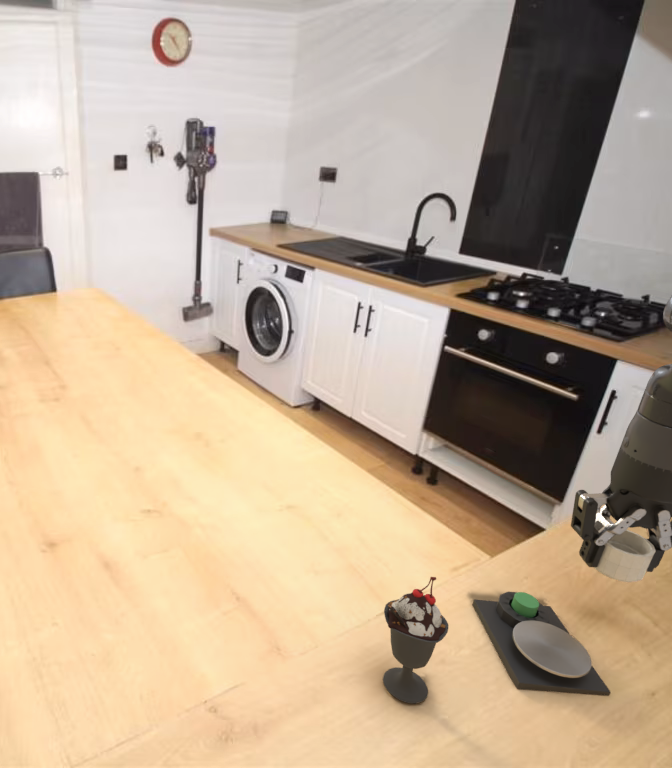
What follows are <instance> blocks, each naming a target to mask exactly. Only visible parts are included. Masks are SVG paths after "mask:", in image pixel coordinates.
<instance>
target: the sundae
mask: <svg viewBox="0 0 672 768" xmlns="http://www.w3.org/2000/svg"><path fill="white" fill-rule="evenodd" d="M436 580H437V577H436V576H430V578H429V581H428V584H427V585H426V586H424V587H423V588H422V589H420V588H414V589H413V590H412V592H409V593H405V594H403V595H402V596H401V597H399V599H393V600H390V601H388V602H387V603H386V604H385V606H384V610H383V614H384V619H385V622H386V624H387V627H388V628H389V629H390V645H391V646H390V647H391V653H392V655H393V657H394V658H395V660H396V661H397V662H398V663H399V664H401V665H402V667H391V668H388V669H387V670H386V671H385V672H384V673H383V676H382V682H383V685H384V688H385V689H386V691H388V693H389V694H390V695H391V696H392V697H394V699H395V698H396V699H397V700H399V701H401V702H404V703H406V704H419V703H422V702H424V701H425V700H426V699H427V698H428V695H429V689H428V685H427V684H426V682H425V680H424V679H423V678H422V677H421V676H420V675H419V674H417V673H415V672H414V670H418V669H422V668H425V667H426V666H427V665H428V663H429V662H430V659H431V658H432V656H433V653H434V650H435V648H436V645H437V643H440V642H441V641H443V639H444V638H446V635H447V634H448V632H449V622H448V621H447V619H446V618H445V617H444V616H443V614H442V613H441V611H440V608H439V607H438V605H436V602H437V599H436V597H435V596H434V595H433V587H434V586H433V585H434V581H436ZM430 584H431V585H430ZM429 586H430V591H429V593H425V594H424V592H423V591H424V590H426V589H427V588H428V587H429Z"/></svg>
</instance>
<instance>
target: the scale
mask: <svg viewBox="0 0 672 768" xmlns="http://www.w3.org/2000/svg"><path fill="white" fill-rule="evenodd" d="M517 592H518V591H506V592H504V593H501V594H500V595H499V597H498V600H486V599H473V601H472V607H473V609H474V611H475V613H476V615H477V617H478V619H479V621H480V622H481V624H482V626H483V628H484V630H485V633H486V634H487V636H488V638H489V640H490V642H491V644H492V646H493V648H494V650H495V652H496V654H497V656H498V657H499V660H500V662H501V663H502V665H503V668H504V669H505V671H506V673H507V674H508V676H509V678H510V680H511V681H512V684H513V685H514V687H515V689H516V690H523V691H524V690H525V691H538V692H551V693H563V694H564V693H565V694H578V695H579V694H580V695H591V696H607V697H609V696H610V695H611V690H610V689H609V688H608V686H607V684H606V683H605V681H603V679H602V678H601V676H600V675H599V673H598V672H597V670H596V668H594V665H591V669H590V671H589V672H588V674H586V675H585V676H582V677H578V678H568V677H562V676H558V675H555V674H552V673H550V672H548V671H546V670H544V669H542V668H540V667H538V666H537V665H535V664H534V663H532V662H531V661H530V660H528V659H527V658H526V657H525V656H524V655H523V654H522V653H521V652H520V651H519V649H518V648H517V646H516V645H515V643H514V640H513V636H512V634H513V629H514V627H515V626H516V625H517V624H518V623H520V622H522V621H529V620H532V621H540V622H544V623H548V624H551V625H553V626H556V627H558V628H560V629H562V630H564V631H565V632H567V633H568V634H570V632H569V630H568V629H567V628H566V626H565V624H563V622H562V621H561V619H560V618H559V617H558V615H557V614H556V612H555V611H554V609H553V608H552V606H550V605H544V604H542V603H541V602H539V607H538V610H537V612H536V615H535V616H534V617H532V618H527V617H524V616H522V615H519V614H518V613H516V612H515V611H514V610H513V609H512V607H511V604H512V601H513V598H514V595H515V594H516V593H517Z"/></svg>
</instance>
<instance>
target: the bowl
mask: <svg viewBox="0 0 672 768" xmlns="http://www.w3.org/2000/svg"><path fill="white" fill-rule="evenodd" d="M603 529H604V526H603V527H602V528H601V529H600V530H599V531H598V532H599V533H600V532H601V531H602V530H603ZM647 539H648V538H646V537H644V536H642V535H641V534H640V533H637V532H634V531H633V530H629V529H628V528H627V529H626V530H625V531H624V532H623V533H622V534H621V535H614V536H613V537H612V538H611V539H610V540H609V541H608V542H607V543H605V544H604V545H605V549H604V551H603V554H602V556H601V559H600V561H599V564H598V566H597V567H596V568H595V567H593V568H594V569H595V571H597V572H598V573H600V574H601V575H603V576H605V577H607V578H609V579H611V580H615V581H617V582H621V583H636V582H641V581H642V580H643V579H644V578H645V576H646V574H647V570H648V568H649V565H650V563H651V561H652V559H653V556H654V554H655V552H656V550H655V548H654V545H653V544H652V543H650V542H649V541H648V540H647Z"/></svg>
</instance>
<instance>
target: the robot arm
mask: <svg viewBox="0 0 672 768" xmlns="http://www.w3.org/2000/svg"><path fill="white" fill-rule="evenodd" d="M662 314H663V315H662V319H663V323H664V325H665V327H666V328H667V329H668V330H669V332H670V333H672V295H671V296H670V297H669V298H668V300H667V301H666V304H665V305H664V308H663V313H662ZM611 517H612V518H613V519H614V520H615V521H616V522H613V521H612V520H611ZM602 527H604V529H603V530H602V531H601V532H600V533H599V532H598V531H599V530H600V529H601V528H602ZM570 528H572V529H573V530H574V532H575V533H576V534H577V535H578V536H579V538H581V540H583V541H582V543H581V546H580V548H579V551H578V555H579V557H580V558H581V560H583V562H584V563H585V564H586V565H587V567H588V568H594V567H595V568H596V567H597V566H598V564H599V561H600V559H601V556H602V554H603V551H604V549H605V545H604V544H605V543H607V542H608V541H609V540H610V539H611V538H612V537H613V536H614V535H621V534H622V533H623V532H624V531H625V530H626V529H627V530H628V529H629V528H633V529H634V528H642V529H645V531H646V536H647V537H648V538H646V539H647V540H648V541H649V542H650V543H652V544H653V545H654V548H655V550H656V552H655V554H654V556H653V559H652V561H651V563H650V565H649V568H648V570H647V572H648V573H652V572H653V571H654V570H655V569H657V567H658V566H659V565H660V563H661V561H662V559H663V556H664V554H665V552H666V551H669V550H670V549H672V363H669V364H668V363H667V364H664V365H662V366H659V367H658V368H656V369H655V370H654V371H653V372H652V374H651V376H650V377H649V380H648V381H647V384H646V386H645V388H644V392H643V394H642V396H641V399H640V402H639V404H638V407H637V410H636V412H635V414H634V416H633V417H632V419H631V420H630V422H629V424H628V426H627V428H626V431H625V434H624V436H623V439H622V441H621V444H620V447H619V449H618V451H617V454H616V457H615V459H614V462H613V464H612V467H611V470H610V483H609V485H607V487H606V488H604V489H603V491H602V492H601V493H588V492H587V490H585V489H579V490H577V491H576V492H575V495H574V502H573V509H572V515H571V522H570ZM595 568H594V569H595ZM647 572H646V573H647Z"/></svg>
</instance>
